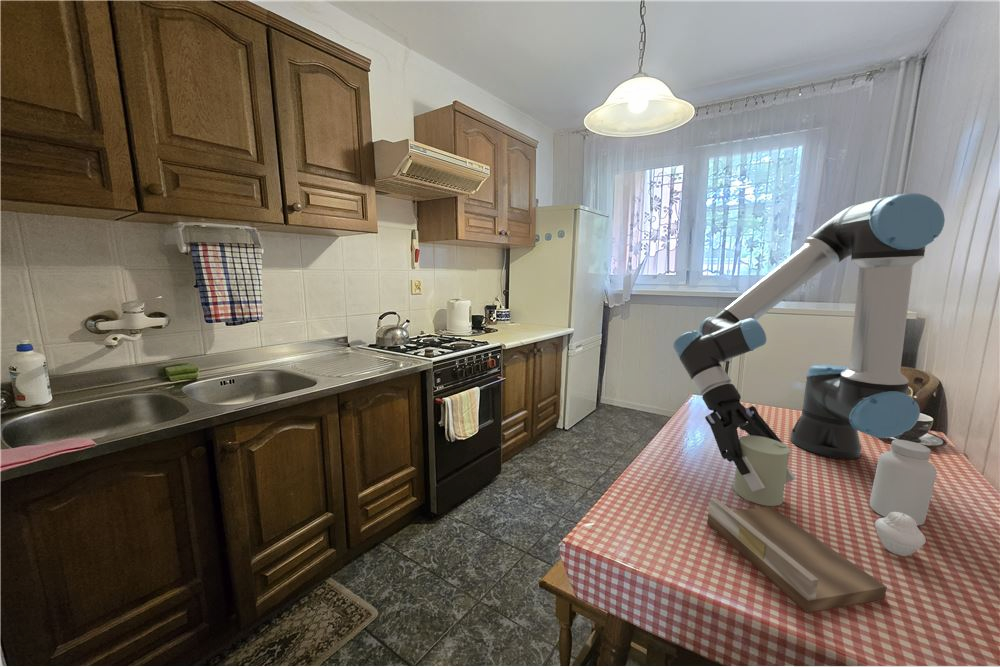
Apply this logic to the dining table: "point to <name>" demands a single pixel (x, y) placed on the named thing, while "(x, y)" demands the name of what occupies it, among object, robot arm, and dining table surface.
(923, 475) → the pill bottle
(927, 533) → the dining table surface
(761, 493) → the can
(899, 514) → the muffin
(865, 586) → the shelf
